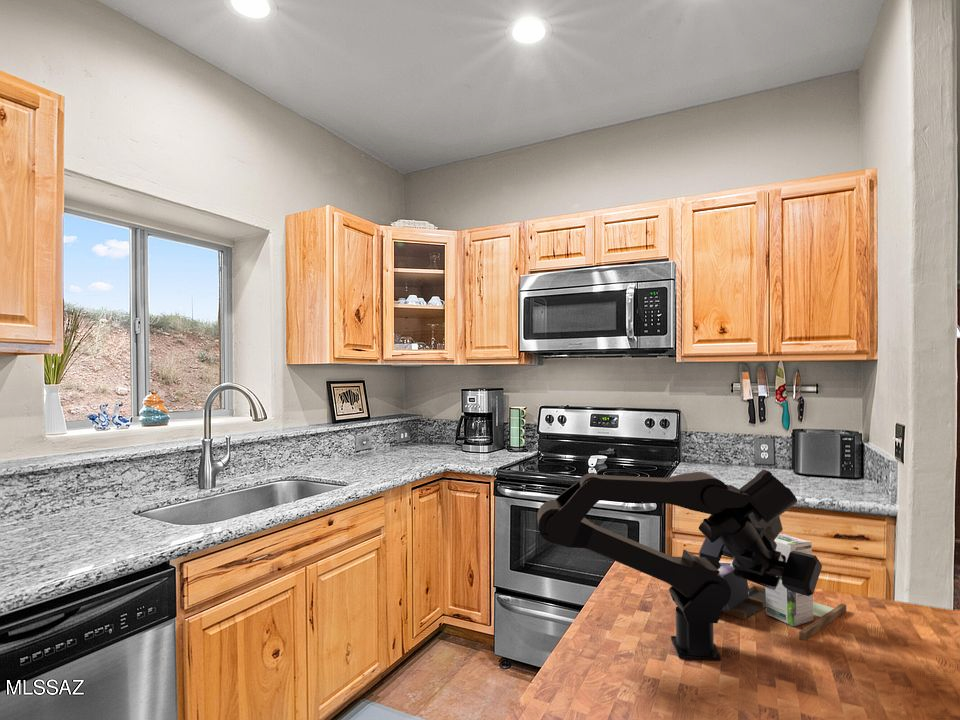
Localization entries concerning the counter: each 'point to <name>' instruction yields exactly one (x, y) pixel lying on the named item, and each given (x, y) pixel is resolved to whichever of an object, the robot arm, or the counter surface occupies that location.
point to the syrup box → (784, 601)
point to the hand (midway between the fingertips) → (773, 587)
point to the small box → (734, 586)
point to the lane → (759, 602)
